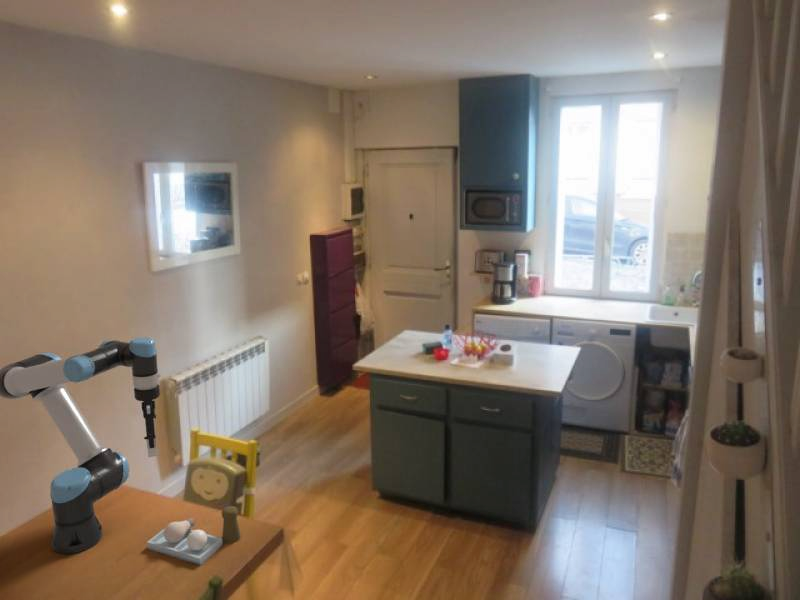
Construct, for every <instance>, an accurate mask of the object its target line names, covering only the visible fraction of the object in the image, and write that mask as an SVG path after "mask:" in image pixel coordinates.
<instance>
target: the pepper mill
mask: <svg viewBox="0 0 800 600" xmlns="http://www.w3.org/2000/svg"><path fill="white" fill-rule="evenodd" d="M238 515H239V510H238V508H237V507H236V506H233V505H230V506H226V507H224V508H223V509H222V511H221V517H222V519H223V525H222V536H221V538H222V542H223V543H225V544H234V543H236V542H238V541H239V540H240V539H242V538H241V537H242V535H241V530H240V527H239V522H238V521H239V520H238Z"/></svg>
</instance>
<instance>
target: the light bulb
mask: <svg viewBox="0 0 800 600" xmlns="http://www.w3.org/2000/svg"><path fill="white" fill-rule="evenodd" d="M195 522H196V521H195V520H194V519H193V518H192V517H190V518H188V519H186V520H182V521H170V523H168V524H167V525H166V526H165V527H164V529H165V530H164V538H165V539H166V540H167V541H168V542H170V543H176V542H178V541H180V540H181V539H182V538H183V536H184V535H185V533H186V532H187V531H188V530H189V529H191V528H192V527H194V526H195V525H196V524H195Z"/></svg>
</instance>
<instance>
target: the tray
mask: <svg viewBox="0 0 800 600" xmlns="http://www.w3.org/2000/svg"><path fill="white" fill-rule="evenodd" d="M164 530H165V528H164V529H162V530H161V531H159V532H158V533H157V534H156V535H154V536H153V537H152V538H150V539H149V540H148V541H146V545H147V550H151V551H153V552H158V553H160V554H163V555H166V556H168V557H172V558H176V559H179V560H182V561H185V562H188V563H191V564H194V565H197V566H201V565H203V564H204V563H205V562H206V561H207V560H209V558H210V557H211V556H213V555H214V554H215V553H216V552H217V551H218V550H220V549H221V547H222V546H224V545H223V543H224V542H223V540H222V537H219V536H215V535H212V534H207V533H206V535H207V544H206V545H205V547H204V548H202V549H201V550H198V551H194V550H191V549H190V548H189V547H188V545H187V537H188V535H189V534H190V533H191V532H192V531H194V530H195V529H191V528H190V529H189V530H188V531H187V532H186V533H185V535H184V536H183V538H182V539H181V540H180V541H178V542H176V543H170V542H168V541H167V540H166V539H165V538H164Z"/></svg>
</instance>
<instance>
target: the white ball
mask: <svg viewBox="0 0 800 600" xmlns="http://www.w3.org/2000/svg"><path fill="white" fill-rule="evenodd" d="M193 530H194V531H192V532H191V533H190V534H189V535H188V537H187V545H188V547H189V548H190V549H191V550H194V551H198V550H201V549H202V548H204V547H205V545H206V544H207V535H206V534H207V533H206V532H205V531H204V530H202V529H193Z"/></svg>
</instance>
